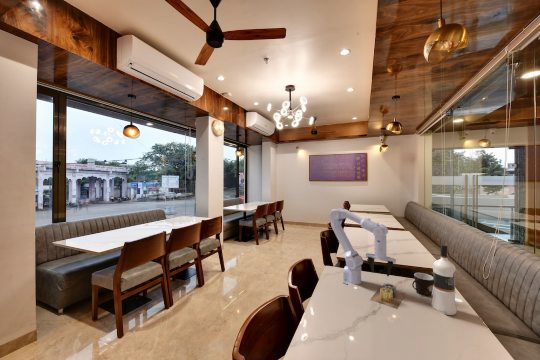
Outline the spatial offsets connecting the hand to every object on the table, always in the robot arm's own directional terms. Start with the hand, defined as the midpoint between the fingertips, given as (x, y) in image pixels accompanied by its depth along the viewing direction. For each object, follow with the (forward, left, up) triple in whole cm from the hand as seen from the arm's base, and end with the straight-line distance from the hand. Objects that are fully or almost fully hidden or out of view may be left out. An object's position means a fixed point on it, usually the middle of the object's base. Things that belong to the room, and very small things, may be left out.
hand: (380, 273), depth 122 cm
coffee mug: (+17, +10, -10) cm, 22 cm away
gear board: (+5, -5, -10) cm, 12 cm away
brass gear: (+5, -8, -9) cm, 13 cm away
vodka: (+27, +1, -10) cm, 29 cm away
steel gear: (+5, -2, -9) cm, 10 cm away
